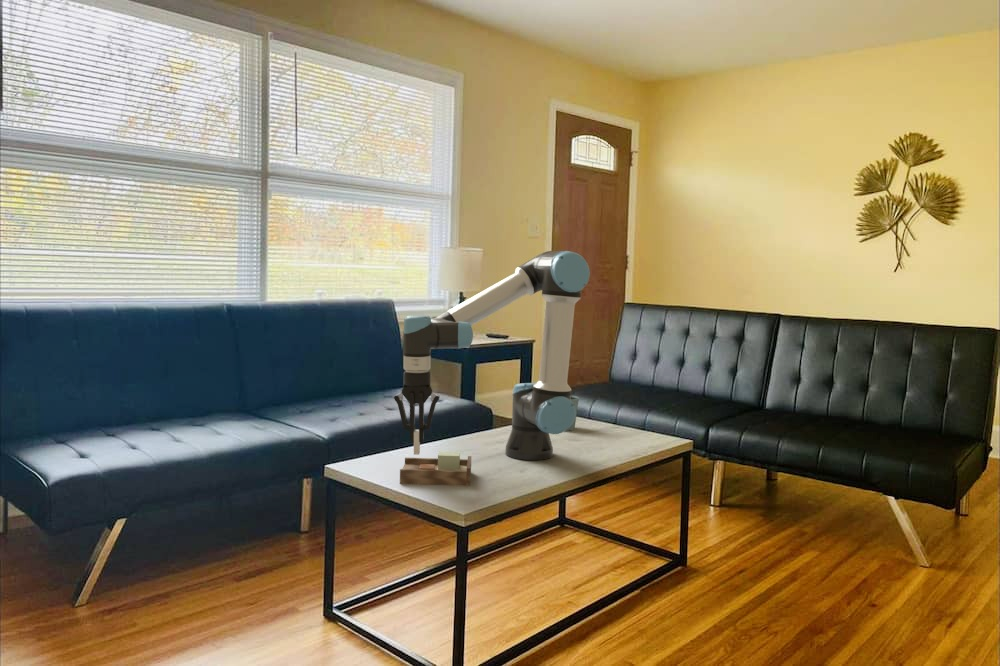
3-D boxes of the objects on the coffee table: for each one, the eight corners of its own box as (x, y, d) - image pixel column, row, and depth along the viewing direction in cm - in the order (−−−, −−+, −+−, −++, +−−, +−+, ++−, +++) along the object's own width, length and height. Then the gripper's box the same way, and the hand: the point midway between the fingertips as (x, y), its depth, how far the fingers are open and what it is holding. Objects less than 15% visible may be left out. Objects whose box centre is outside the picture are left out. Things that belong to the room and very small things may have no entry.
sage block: (459, 465, 220) (460, 452, 220) (458, 470, 216) (459, 456, 216) (438, 465, 220) (438, 451, 220) (437, 469, 216) (437, 455, 216)
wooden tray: (470, 473, 222) (471, 456, 222) (469, 486, 209) (470, 468, 209) (404, 471, 222) (405, 454, 221) (399, 484, 209) (400, 466, 209)
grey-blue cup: (546, 426, 289) (547, 394, 288) (571, 425, 292) (572, 393, 291) (556, 432, 280) (557, 399, 279) (581, 431, 283) (583, 398, 282)
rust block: (434, 478, 215) (434, 464, 215) (433, 482, 211) (433, 468, 211) (420, 478, 215) (420, 464, 214) (418, 482, 211) (419, 467, 210)
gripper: (391, 372, 212) (392, 456, 214) (439, 373, 212) (439, 457, 214) (395, 368, 219) (395, 449, 222) (441, 368, 219) (440, 450, 222)
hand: (416, 453), depth 218 cm, fingers closed
